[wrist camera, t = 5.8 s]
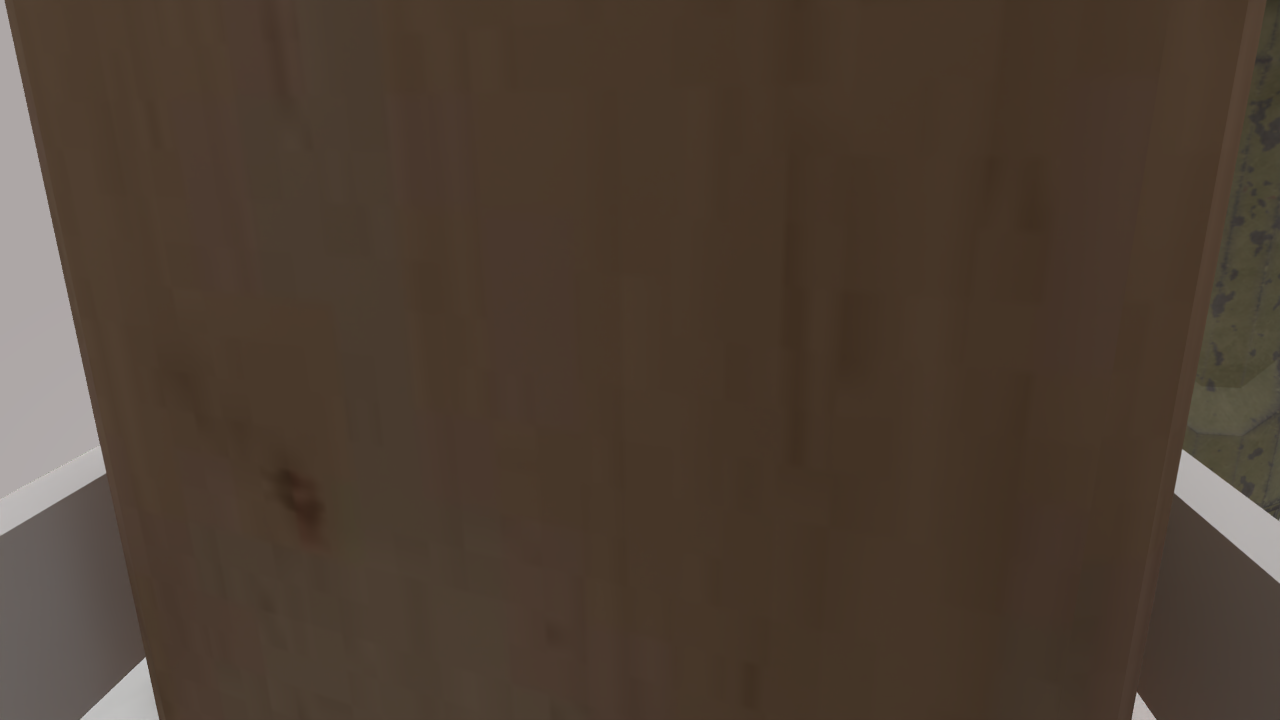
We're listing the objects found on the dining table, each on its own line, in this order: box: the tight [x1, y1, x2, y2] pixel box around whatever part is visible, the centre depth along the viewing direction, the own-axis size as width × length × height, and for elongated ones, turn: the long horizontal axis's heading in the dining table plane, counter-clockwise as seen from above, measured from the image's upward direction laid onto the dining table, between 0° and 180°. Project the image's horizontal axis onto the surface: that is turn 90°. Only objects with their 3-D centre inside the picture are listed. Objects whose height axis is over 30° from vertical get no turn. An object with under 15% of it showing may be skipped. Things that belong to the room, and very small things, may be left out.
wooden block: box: [5, 0, 1267, 720], centre depth 12 cm, size 10×10×20 cm
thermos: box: [1182, 0, 1280, 521], centre depth 30 cm, size 9×12×35 cm
